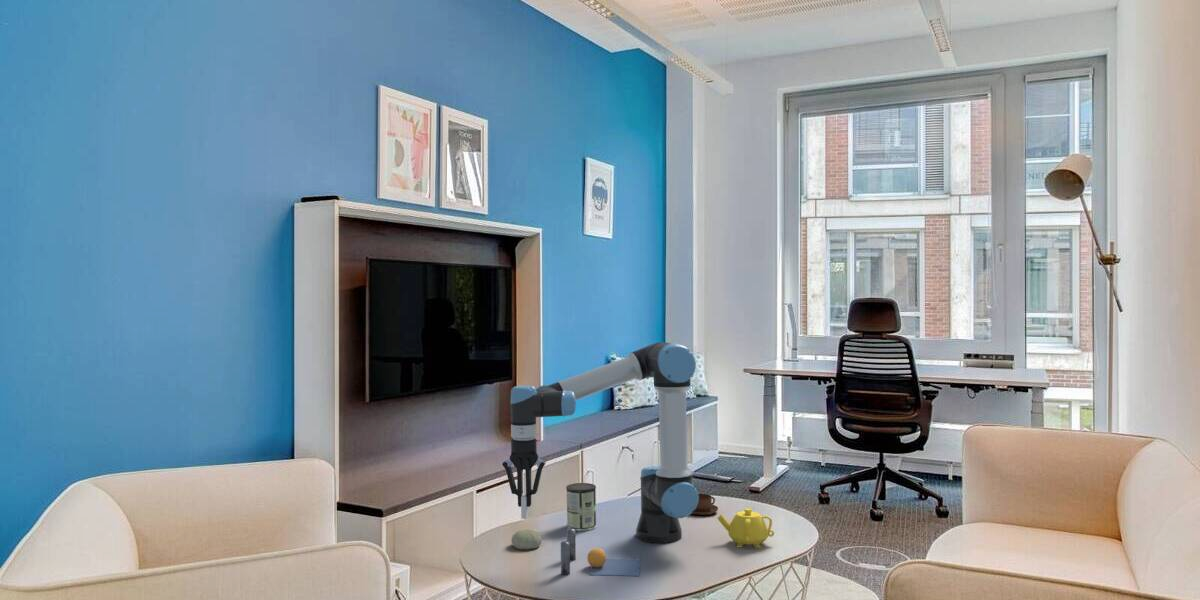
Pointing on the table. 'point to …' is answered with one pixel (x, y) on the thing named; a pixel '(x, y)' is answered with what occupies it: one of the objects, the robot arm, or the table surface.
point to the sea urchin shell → (526, 539)
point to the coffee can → (581, 506)
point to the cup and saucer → (705, 505)
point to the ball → (596, 557)
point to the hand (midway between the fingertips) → (524, 517)
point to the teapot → (747, 527)
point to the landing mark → (618, 568)
